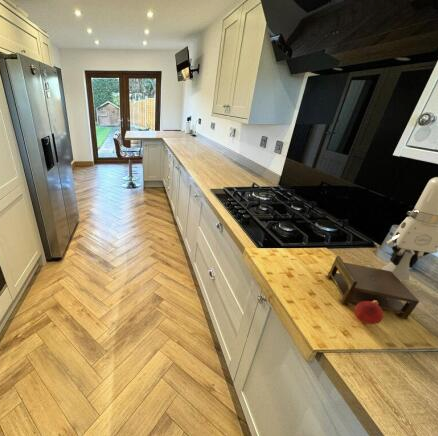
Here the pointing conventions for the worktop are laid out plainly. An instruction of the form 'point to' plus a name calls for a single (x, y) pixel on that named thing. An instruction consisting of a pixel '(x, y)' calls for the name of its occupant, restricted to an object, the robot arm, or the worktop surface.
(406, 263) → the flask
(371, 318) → the onion
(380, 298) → the wooden step stool
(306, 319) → the worktop surface
